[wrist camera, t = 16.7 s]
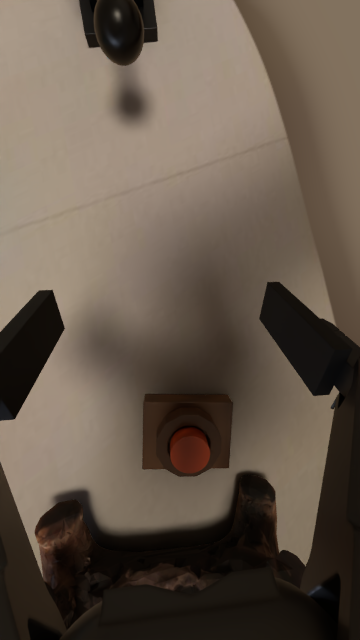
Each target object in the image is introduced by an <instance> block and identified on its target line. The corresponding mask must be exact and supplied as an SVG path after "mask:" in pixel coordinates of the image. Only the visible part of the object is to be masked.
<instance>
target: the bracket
mask: <svg viewBox="0 0 360 640" xmlns="http://www.w3.org/2000/svg"><path fill="white" fill-rule="evenodd" d="M79 1H80V7H81V13H82V19H83V25H84V31H85V36H86V39H87V42H88V46H89V47H96V46H100V45H99V43H98V40H97V37H96V33H95V29H94V10H95V6H96V3H97V0H79ZM134 1H135V3H136V5H137V7H138V9H139V11H140V14H141V17H142V20H143V26H144V42H148V41H157V40H158V39H157V23H156V16H155V8H154V1H153V0H134Z"/></svg>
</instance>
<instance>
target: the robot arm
mask: <svg viewBox="0 0 360 640" xmlns="http://www.w3.org/2000/svg"><path fill="white" fill-rule="evenodd" d="M259 319H260V321H261V322H262V323H263V325H264V326H265V328H266V329H267V330H268V332H269V333H270V335H271V336H272V338H273V339H274V340H275V342H276V343H277V345H278V346H279V348H280V349H281V350H282V352H283V353H284V355H285V356H286V357H287V359H288V360H289V362H290V363H291V365H292V366H293V367H294V369H295V370H296V372H297V373H298V375H299V376H300V377H301V379H302V380H303V382H304V383H305V384H306V386H307V387H308V389H309V390H310V392H311V393H312V394H313V396H318V395H329V394H330V392H331V390H332V388H333V386H335V387H336V388H337V389H338V391H339V394H338V395H337V397H336V399H335V401H334V403H333V405H332V406H331V409H334V407H335V409H334V415H333V422H332V428H331V434H330V440H329V446H328V452H327V458H326V464H325V470H324V476H323V482H322V488H321V494H320V500H319V507H318V513H317V519H316V525H315V531H314V537H313V543H312V549H311V553H310V557H309V560H308V562H307V565H306V567H305V570H304V573H303V577H302V581H301V586H300V589H299V588H297V587H296V586H294V585H292V584H291V583H289V582H286V581H284V580H282V579H279V578H276V577H274V574H273V570H272V567H265V568H257V569H250V570H243V571H236V572H231V573H230V574H228V575H226V576H224V577H223V578H221V579H219V580H217V581H216V582H214V583H212V584H211V585H209V586H207V587H205V588H204V589H202V590H200V591H198V592H197V593H195V594H192V595H188V594H184V593H180V592H176V591H172V590H168V589H164V588H160V587H156V586H152V585H149V584H143V585H136V586H129V587H121V588H114V589H107V590H104V591H103V599H102V601H101V602H100V603H98V604H96V605H95V606H93V607H92V608H91V609H89V610H88V611H86V612H85V613H84V614H83V615H82V616H81V617H80V618H79V619H77V620H76V621H75V622H74V623H73V624H72V625H71V627H70V628H69V629H68V630H67V629H66V627H65V624H64V622H63V619H62V617H61V614H60V612H59V610H58V608H57V606H56V604H55V602H54V601H53V599H52V597H51V596H50V594H49V592H48V590H47V588H46V585H45V583H44V580H43V577H42V574H41V572H40V569H39V566H38V563H37V561H36V558H35V555H34V553H33V550H32V547H31V544H30V542H29V539H28V536H27V533H26V531H25V528H24V525H23V523H22V520H21V517H20V514H19V512H18V509H17V506H16V504H15V501H14V498H13V495H12V493H11V490H10V487H9V484H8V482H7V479H6V476H5V474H4V471H3V468H2V465H1V463H0V640H360V347H359V346H358V345H356V344H355V343H354V342H353V341H352V340H351V339H349V338H348V337H347V336H345V334H344V333H343V332H341V331H339V329H338V328H337V327H336V326H335V325H333V324H332V323H330V322H328V321H326V320H324V319H320V318H318V317H317V316H316V315H315V314H314V313H313V312H312V311H311V310H310V309H308V308H307V307H306V306H305V305H304V304H303V303H302V302H301V301H300V300H299V299H297V298H296V297H295V296H294V295H293V294H292V293H291V292H290V291H289V290H287V289H286V288H285V287H284V286H283V285H282V284H281V283H280V282H267V287H266V291H265V296H264V300H263V305H262V309H261V314H260V318H259ZM64 329H65V328H64V325H63V321H62V318H61V315H60V312H59V309H58V306H57V303H56V299H55V296H54V293H53V290H42V291H38V292H37V293H36V294H35V295H34V296H33V297H32V299H31V300H30V301H29V302H28V303H27V304H26V305H25V306H24V307H23V308H22V309H21V310H20V311H19V313H18V314H17V315H16V316H15V317H14V318H13V319H12V320H11V321H10V322H9V323H8V324H7V325H6V326H5V328H4V329H3V330H2V331H1V332H0V421H1V420H13V419H15V418H16V416H17V414H18V412H19V411H20V409H21V407H22V405H23V403H24V402H25V400H26V398H27V396H28V394H29V393H30V391H31V389H32V387H33V385H34V383H35V382H36V380H37V378H38V376H39V374H40V373H41V371H42V369H43V367H44V365H45V363H46V362H47V360H48V358H49V356H50V354H51V353H52V351H53V349H54V347H55V345H56V343H57V342H58V340H59V338H60V336H61V334H62V333H63V331H64Z"/></svg>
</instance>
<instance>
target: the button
mask: <svg viewBox="0 0 360 640" xmlns="http://www.w3.org/2000/svg"><path fill="white" fill-rule="evenodd" d="M170 458H171V462H172V464H173V465H174V467H175V468H176V469H178V470H179V471H181V472H184V473H195V472H198V471H200V470H202V469H203V468H204V467H205V466H206V465H207V463H208V461H209V458H210V449H209V445H208V442H207V439H206V436H205V434H204V433H203V432H202V431H201V430H199V429H197V428H195V427H184V428H181V429H179V430H178V431H177V432H176V433H175V434H174V435H173V436H172V438H171V441H170Z"/></svg>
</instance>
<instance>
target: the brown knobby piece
mask: <svg viewBox="0 0 360 640" xmlns="http://www.w3.org/2000/svg"><path fill="white" fill-rule="evenodd" d="M276 529H277V513H276V501H275V490H274V488H273V487H272V486H271V485H270V484H269V482H268V481H267V480H265V479H263V478H261V477H259V476H254V475H244V476H242V478H241V480H240V483H239V496H238V500H237V506H236V512H235V518H234V523H233V526H232V530H231V531H230V533H229V534H228V535H226V536H225V537H224V538H223V539H222V540H221V541H218V542H211V543H209V544H208V545H207V544H202V545H200V546H191V547H183V548H173V549H163V550H157V551H146V552H130V551H112V550H108V549H105V548H102V547H100V546H99V545H97V544H96V543H95V541H94V540H93V538H92V537H91V534H90V532H89V529H88V527H87V526H86V524H85V522H84V521H83V508H82V505H81V504H80V503H79V502H78V501H77V500H76V499H75V500H70V501H65V502H60V503H58V504H56V505H55V506H54V507H53V508H51V509H50V510H49V511H47V512H46V513H45V514H44V515H43V516H42V517H41V518H40V520H39V522H38V524H37V526H36V528H35V535H36V538H37V541H38V543H39V548H40V555H41V561H42V570H43V580H44V583H45V585H46V588H47V590H48V592H49V594H50V596H51V597H52V599H53V601H54V602H55V604H56V606H57V608H58V610H59V612H60V614H61V617H62V619H63V622H64V624H65V627H66V629H67V630H68V629H69V628H70V627H71V625H72V624H73V623H74V622H75V621H76V620H77V619H79V618H80V617H81V616H82V615H83V614H84V613H85V612H86V611H88V610H89V609H91V608H92V607H93V606H95V605H96V604H98V603H100V602H101V601H102V599H103V591H104V590H107V589H114V588H121V587H129V586H136V585H143V584H149V585H152V586H156V587H160V588H164V589H168V590H172V591H176V592H180V593H184V594H188V595H192V594H195V593H197V592H198V591H200V590H202V589H204V588H205V587H207V586H209V585H211V584H212V583H214V582H216V581H217V580H219V579H221V578H223V577H224V576H226V575H228V574H230V573H231V572H236V571H243V570H250V569H257V568H265V567H272V570H273V574H274V577H276V578H279V579H282V580H284V581H286V582H289V583H291V584H292V585H294V586H296V587H297V588H299V589H300V586H301V581H302V577H303V573H304V570H305V565H304V564H303V563H302V562H301V560H300V559H299V558H298V557H297V556H296V555H294V554H293V553H291V552H289V551H286V550H282V551H281V552H280V553H279V549H278V543H277V535H276Z"/></svg>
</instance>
